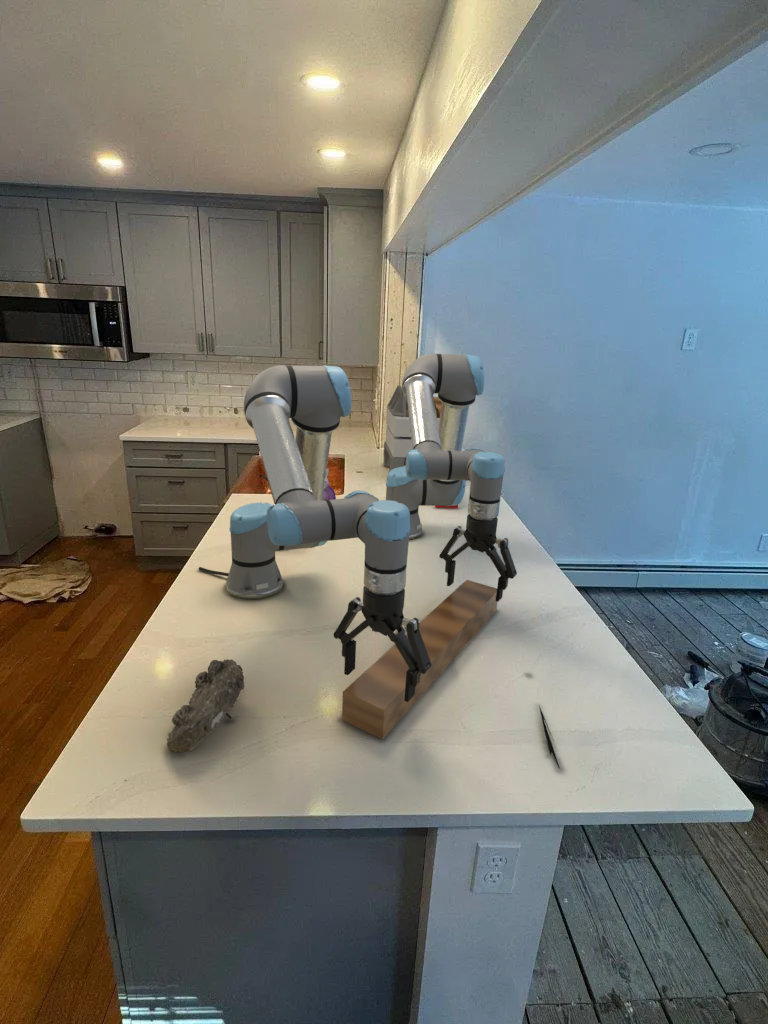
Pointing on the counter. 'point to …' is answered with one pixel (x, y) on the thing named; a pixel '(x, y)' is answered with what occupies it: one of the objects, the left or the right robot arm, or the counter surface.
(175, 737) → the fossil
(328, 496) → the figurine
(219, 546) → the counter surface
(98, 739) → the counter surface
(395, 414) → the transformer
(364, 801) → the counter surface
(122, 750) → the counter surface
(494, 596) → the wooden beam
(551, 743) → the feather
